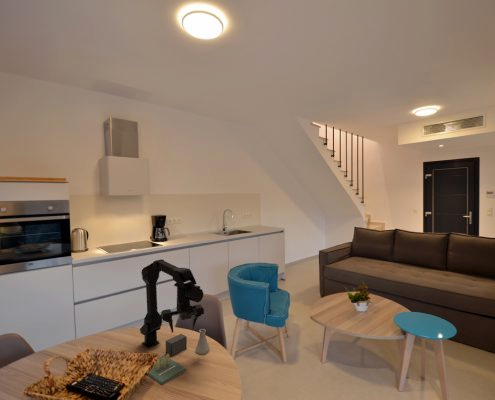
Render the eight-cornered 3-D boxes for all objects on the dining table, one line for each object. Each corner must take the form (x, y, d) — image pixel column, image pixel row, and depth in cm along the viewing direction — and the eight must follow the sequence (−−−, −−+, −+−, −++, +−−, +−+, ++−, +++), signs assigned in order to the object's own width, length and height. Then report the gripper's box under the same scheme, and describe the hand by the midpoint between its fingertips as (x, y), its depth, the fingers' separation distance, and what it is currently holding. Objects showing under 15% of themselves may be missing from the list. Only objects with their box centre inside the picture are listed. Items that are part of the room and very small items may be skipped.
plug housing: (165, 353, 131) (165, 340, 131) (180, 345, 138) (180, 333, 138) (171, 356, 129) (171, 343, 129) (186, 348, 136) (186, 336, 136)
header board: (140, 369, 119) (140, 356, 119) (164, 357, 128) (164, 345, 128) (161, 384, 109) (161, 370, 109) (186, 370, 118) (186, 357, 118)
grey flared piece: (207, 355, 129) (207, 334, 129) (192, 354, 131) (192, 333, 131) (212, 347, 136) (212, 327, 136) (198, 346, 138) (198, 326, 138)
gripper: (165, 306, 115) (164, 343, 115) (208, 300, 123) (207, 334, 123) (161, 297, 125) (160, 331, 125) (201, 292, 133) (200, 324, 133)
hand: (182, 330), depth 126 cm, fingers open, 9 cm apart
